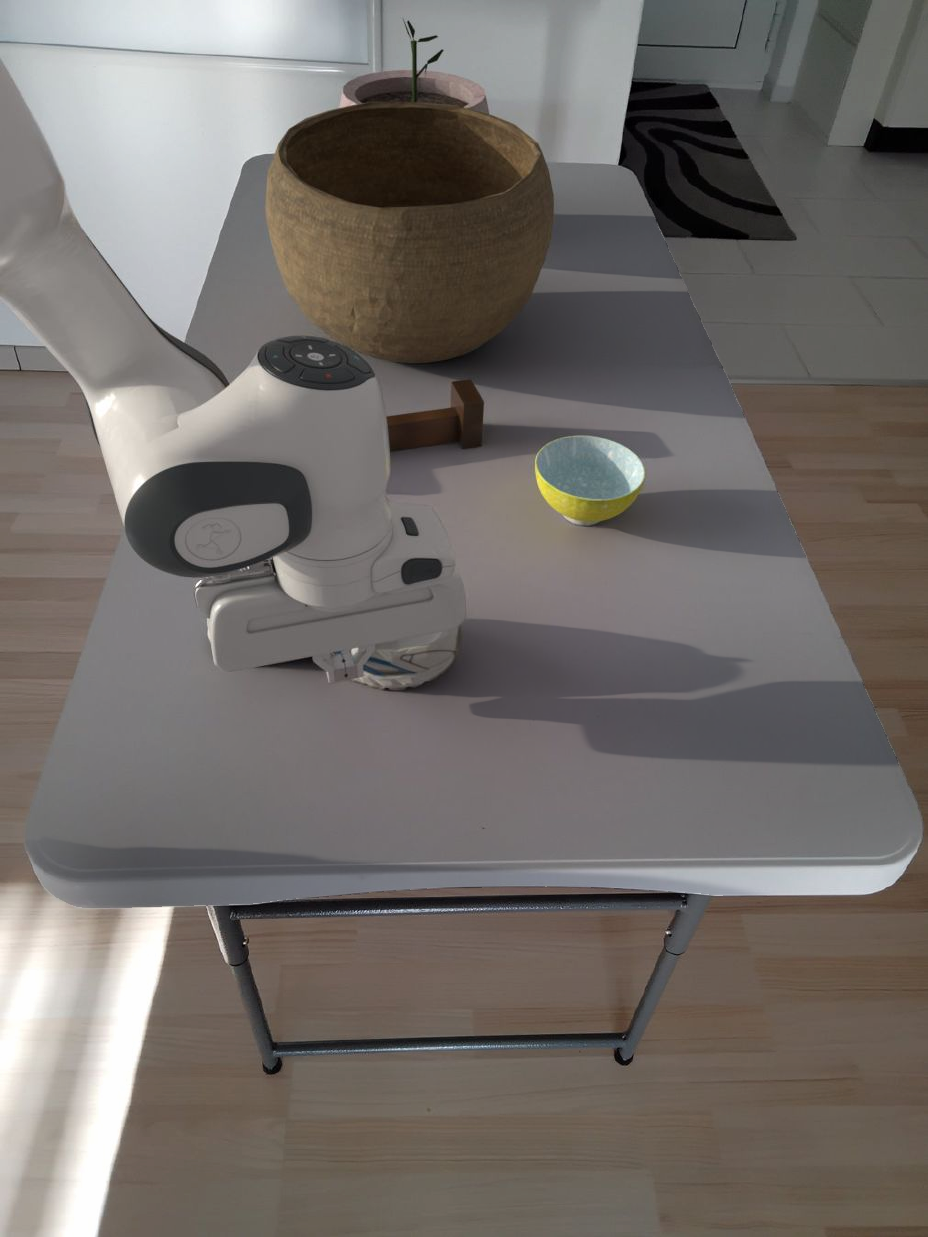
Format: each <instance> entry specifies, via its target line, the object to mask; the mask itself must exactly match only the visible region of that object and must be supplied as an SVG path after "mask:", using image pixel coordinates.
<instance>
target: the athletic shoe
mask: <svg viewBox="0 0 928 1237" xmlns="http://www.w3.org/2000/svg"><path fill="white" fill-rule="evenodd" d="M206 626H207V638H208V641H209V643H210V644H211V642H210V634H209V625H208V618H206ZM462 641H463V630H462V626H461V625H459V626H458V627H457V628H456V629H453V630H448V631H443V632H437V633H432V634H427V635H422V636H416V637H411V638H406V639H401V640H395V641H390V642H385V643H380V644H375V651H374V652H373V654H372V655H371V656H370V658H369V659H368V660H367V662H366V663H365V664H364V665H363V673H364V677H360V678H355V679H349V680H351V682H352V681H353V682H355V683H356V682H357V683H359V684H361V685H365V684H366V685H367V686H368V687H370V688H373V689H377V690H381V691H384V690H386V689H389V690H390V691H406V689H407V688H409V687H410V688H417V687H420V686H421V685H424V684H425V682H432V681H433V680H436V679H437V678H439V677H440V676H442V675H443V674H445V673H447V671H448V670H449V668H450V667H452V665H453V664H454V663H455V662H456V661H457V658H458V654H459V651H460V648H461V645H462ZM351 650H352V649H348V650H343V651H338V652H332V653H331V654H332V655H334V654H340V653H341V655H342V653H345V652H349V651H351ZM292 661H294V660H290V661H285V662H280V663H279V664H286V663H289V662H292ZM276 664H277V663H275V664H269V665H268V666H274V665H276ZM264 666H265V667H266V665H264ZM264 666H263V667H264Z"/></svg>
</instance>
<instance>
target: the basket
mask: <svg viewBox="0 0 928 1237" xmlns="http://www.w3.org/2000/svg"><path fill="white" fill-rule="evenodd" d="M552 184H553V183H552V180H551V173H550V168H549V167H548V163H547V161H546V159H545V156H544V153H543V151H542V149H541V147H540V143H539V142H537V140H535V139H533V137H531V135H529V134H527V133H526V132H525V131H524V130H523V129H521V128H520V127H519V126H517V125H516V124H515V123H512V122H511V121H507V120H505V119H502V118H500V117H499V116H495V115H494V114H493V115H492V114H490V113H489V114H486V113H482V112H479V111H475V110H471V109H468V108H464V107H460V106H455V105H447V104H434V103H417V102H380V101H375V102H368V103H362V104H356V105H351V106H346V107H342V108H339V107H338V108H334V109H329V110H325V111H323V112H320V113H317V114H314V115H311V116H308V117H305V118H304V119H303V120H301V121H299V122H297V123H296V124H294V125H293V126H291V127H289V128H288V129H287V131H286V132H285V134H284V135H283V136H282V138H281V139H280V141H279V142H278V143H277V146H276V148H275V151H274V154H273V157H272V160H271V162H270V164H269V166H268V170H267V177H266V187H265V188H266V189H265V218H266V224H267V230H268V234H269V239H270V242H271V243H270V244H271V247H272V250H273V255H274V258H275V261H276V262H275V263H276V265H277V267H278V271H279V273H280V276H281V279H282V282H283V285H284V288H285V290H286V292H288V293H289V295H290V296H291V298H292V299H293V300H294V302H295V303H296V305H298V308H299V310H301V312H302V313H303V314H304V316H305V317H306V318H307V319H308V320H309V321H310V322H311V323H312V324H314V326H315V327H317V328H318V329H320V330H321V331H322V332H323V333H324V334H326V335H327V336H329V337H330V338H331V339H333V340H335V342H336V341H337V343H339V344H341V345H345V346H347V347H348V348H350V349H351V350H353V351H354V352H356V353H358V354H363V355H366V356H369V357H371V358H375V359H378V360H382V361H387V362H392V363H393V362H394V363H406V364H429V363H434V362H440V361H447V360H450V359H453V358H456V357H457V358H458V357H461V356H464V355H467V354H469V353H471V352H473V351H475V350H477V349H479V348H480V347H481V346H483V345H484V344H486V343H487V342H489V341H490V340H491V339H493V338H494V337H497V335H499V334H500V333H501V332H503V331H504V330H505V329H506V328H507V326H509V325H510V323H511V322H512V321H513V320H514V319H515V317H516V316H517V315H518V314H519V313H520V312H521V310H522V309H523V307H525V305H526V304H527V303H528V301H529V300H530V299H531V296H532V294H533V291H534V289H535V286H536V284H537V282H538V279H539V276H540V273H541V271H542V269H543V267H544V264H545V263H546V262H545V261H546V259H547V254H548V252H549V251H548V250H549V247H550V243H551V240H552V235H553V229H554V219H555V218H554V217H555V205H554V204H555V196H554V195H555V194H554V190H553V185H552Z"/></svg>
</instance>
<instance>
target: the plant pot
mask: <svg viewBox="0 0 928 1237" xmlns="http://www.w3.org/2000/svg"><path fill="white" fill-rule="evenodd" d="M402 21H403V23H404V27H405V30H406V33H407V35H408V37H409V38H410V49H411V60H412V62H411V69H398V70H384V71H378V72H370V73H367V74H363V75H360V76H357V77H355V78H352V79H351V80H348V82H346V83H345V84H344V85H343V86H342V91H341V96H340V102H339V106H338V108H342V107H346V106H351V105H356V104H362V103H368V102H375V101H380V102H417V103H434V104H447V105H455V106H460V107H464V108H468V109H471V110H475V111H479V112H482V113H486V114H489V115H490V109H489V104H488V101H487V95H486V91H485V88H483V87H482V86H481V85H480V84H479V83H477V82H475V81H473V80H471V79H469V78H466V77H463V76H460V75H457V74H451V73H445V72H441V71H433V70H427V69H428V65H430V64H432V63H435V62H437V61H438V60H439V59H440V57H441V56H442V54H443V52H444V51H445V49H443V48H442V49H440V50H439V51H438V52H437V53H435V54H434V55H432V57H430V58H429V59H428V60H427V61H426V63H424V65H423V67H422V68H421V69H418V66H417V65H418V62H417V60H418V55H417V54H418V50H417V49H418V48H417V47H418V46H417V45H418V43H426V42H427V43H429V42H431V41H432V40H435V39H437V38H439V36H438V35H437V34H435V35H431V36H426V37H422V38H421V37H420V38H419V39H418V40H415V34H416V30H415V28H414V27H413V25H412V23H411V22H410V20H409V19H408V20H407V21H405V19H404V18H402ZM406 23H407V24H406ZM407 26H408V27H407ZM409 31H410V32H409Z"/></svg>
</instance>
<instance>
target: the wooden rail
mask: <svg viewBox="0 0 928 1237" xmlns="http://www.w3.org/2000/svg"><path fill="white" fill-rule="evenodd" d="M484 410H485V401H484V399H483V397H482V395H481V394H480V392H479V390H478V389H477V387H476V385H475V384H474V382H473V379H472V378H468V379H461V380H460V379H459V380H452V381H451V382H450V407H445V408H438V409H431V410H430V409H429V410H423V411H415V412H408V413H402V414H395V415H394V414H393V415H386V417H387V425H388V434H389V447H390V452H395V451H403V450H410V449H415V448H416V449H417V448H422V447H423V448H424V447H428V446H430V447H431V446H437V445H443V444H450V443H456V442H457V443H458V444H459V446H460V448H461V449H462V450H467V449H472V448H479V447H482V444H483V431H484V430H483V427H484Z"/></svg>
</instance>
